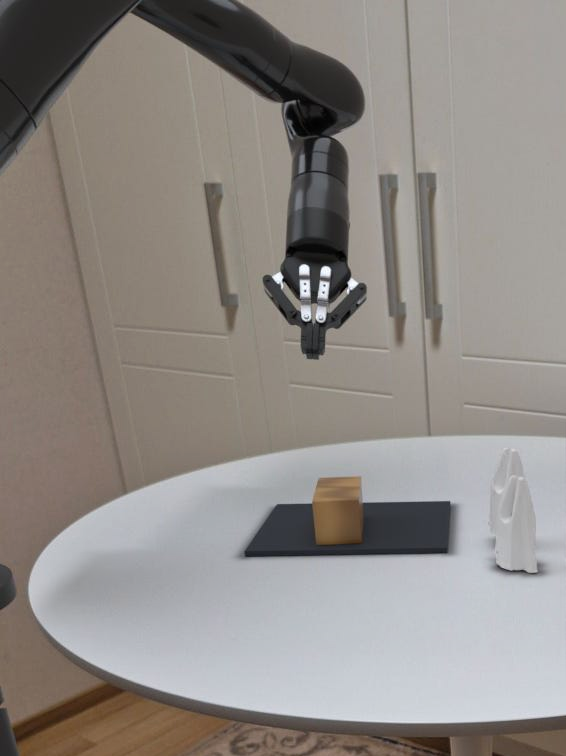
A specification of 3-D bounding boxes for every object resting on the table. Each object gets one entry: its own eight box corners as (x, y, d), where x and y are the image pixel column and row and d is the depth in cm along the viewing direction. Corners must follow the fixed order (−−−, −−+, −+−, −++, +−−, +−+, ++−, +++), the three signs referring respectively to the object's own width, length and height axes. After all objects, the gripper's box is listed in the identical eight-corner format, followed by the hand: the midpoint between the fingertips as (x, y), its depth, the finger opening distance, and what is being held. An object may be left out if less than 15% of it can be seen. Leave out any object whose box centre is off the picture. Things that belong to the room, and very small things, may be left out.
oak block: (322, 518, 106) (316, 545, 97) (318, 477, 104) (311, 501, 95) (363, 516, 107) (362, 543, 98) (361, 476, 105) (358, 499, 96)
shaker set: (487, 537, 101) (486, 440, 96) (524, 536, 101) (524, 439, 96) (498, 575, 90) (497, 467, 85) (539, 573, 90) (540, 465, 86)
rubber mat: (244, 556, 96) (244, 551, 96) (277, 508, 113) (276, 503, 112) (447, 552, 96) (447, 547, 96) (450, 505, 113) (450, 500, 113)
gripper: (259, 199, 104) (252, 337, 101) (373, 210, 106) (368, 345, 103) (266, 237, 112) (259, 367, 109) (371, 247, 113) (367, 374, 111)
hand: (312, 356), depth 106 cm, fingers closed
